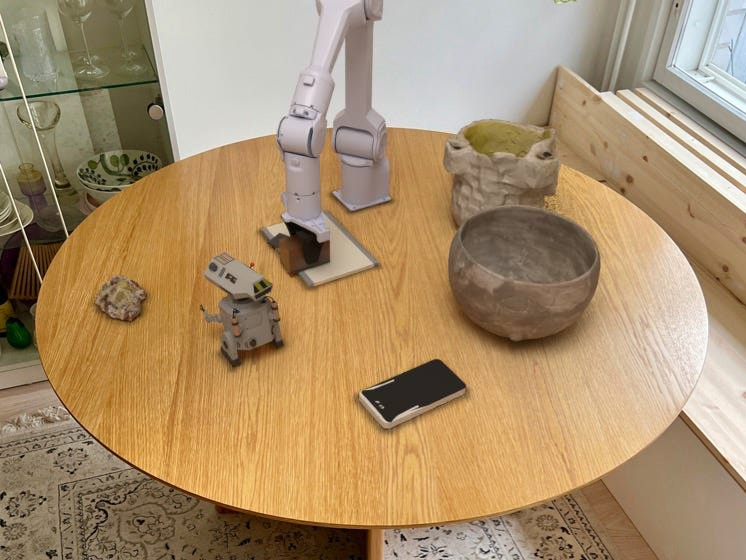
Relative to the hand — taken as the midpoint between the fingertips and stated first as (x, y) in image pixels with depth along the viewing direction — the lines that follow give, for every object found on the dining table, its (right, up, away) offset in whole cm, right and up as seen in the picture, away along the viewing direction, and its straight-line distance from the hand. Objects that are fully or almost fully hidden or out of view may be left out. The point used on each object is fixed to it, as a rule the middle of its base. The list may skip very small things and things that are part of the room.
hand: (306, 255), depth 134 cm
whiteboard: (+2, +2, +6) cm, 7 cm away
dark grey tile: (-5, +4, +6) cm, 9 cm away
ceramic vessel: (+36, +9, +15) cm, 40 cm away
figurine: (-8, -16, -14) cm, 23 cm away
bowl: (+35, -11, -6) cm, 38 cm away
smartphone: (+18, -25, -21) cm, 37 cm away
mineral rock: (-30, -10, -8) cm, 33 cm away
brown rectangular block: (0, -1, +1) cm, 1 cm away
